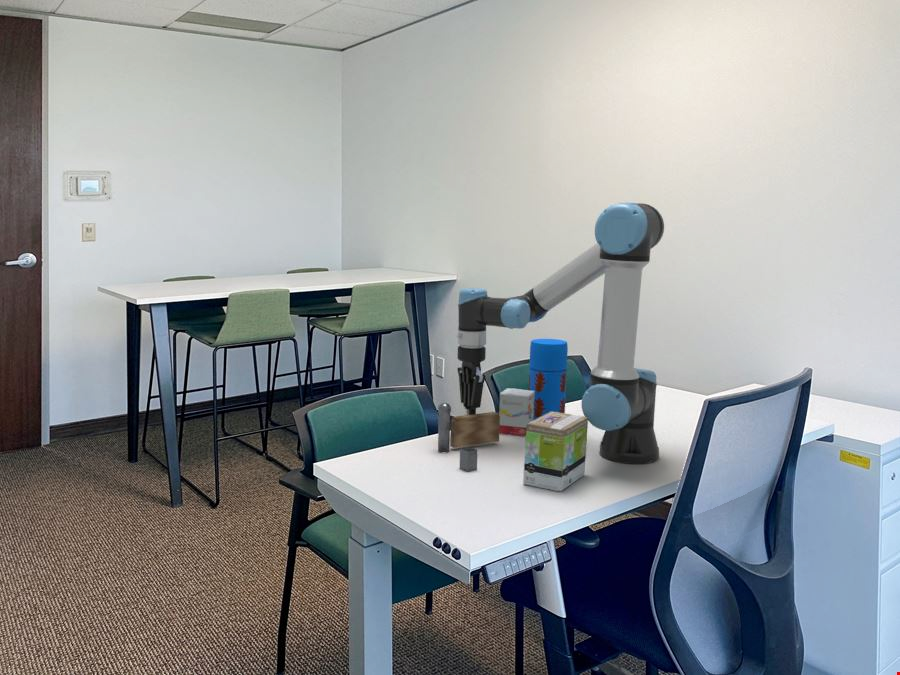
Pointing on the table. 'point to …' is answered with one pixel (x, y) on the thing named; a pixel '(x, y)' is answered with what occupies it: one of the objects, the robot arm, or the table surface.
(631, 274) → the robot arm
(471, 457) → the block
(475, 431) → the gate
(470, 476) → the table surface
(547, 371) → the thermos
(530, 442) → the tea box
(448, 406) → the hinge post
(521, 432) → the ink box
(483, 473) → the table surface
